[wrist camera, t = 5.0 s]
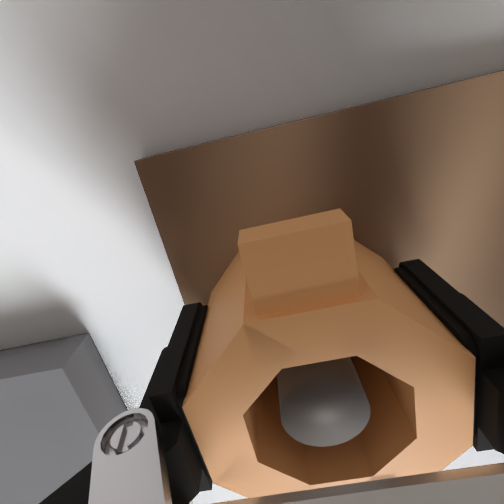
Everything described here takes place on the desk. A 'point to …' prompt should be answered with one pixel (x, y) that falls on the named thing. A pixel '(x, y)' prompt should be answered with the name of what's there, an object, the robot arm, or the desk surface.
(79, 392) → the tray
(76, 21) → the desk surface
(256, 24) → the desk surface
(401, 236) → the base
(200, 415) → the collar
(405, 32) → the desk surface
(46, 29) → the desk surface
